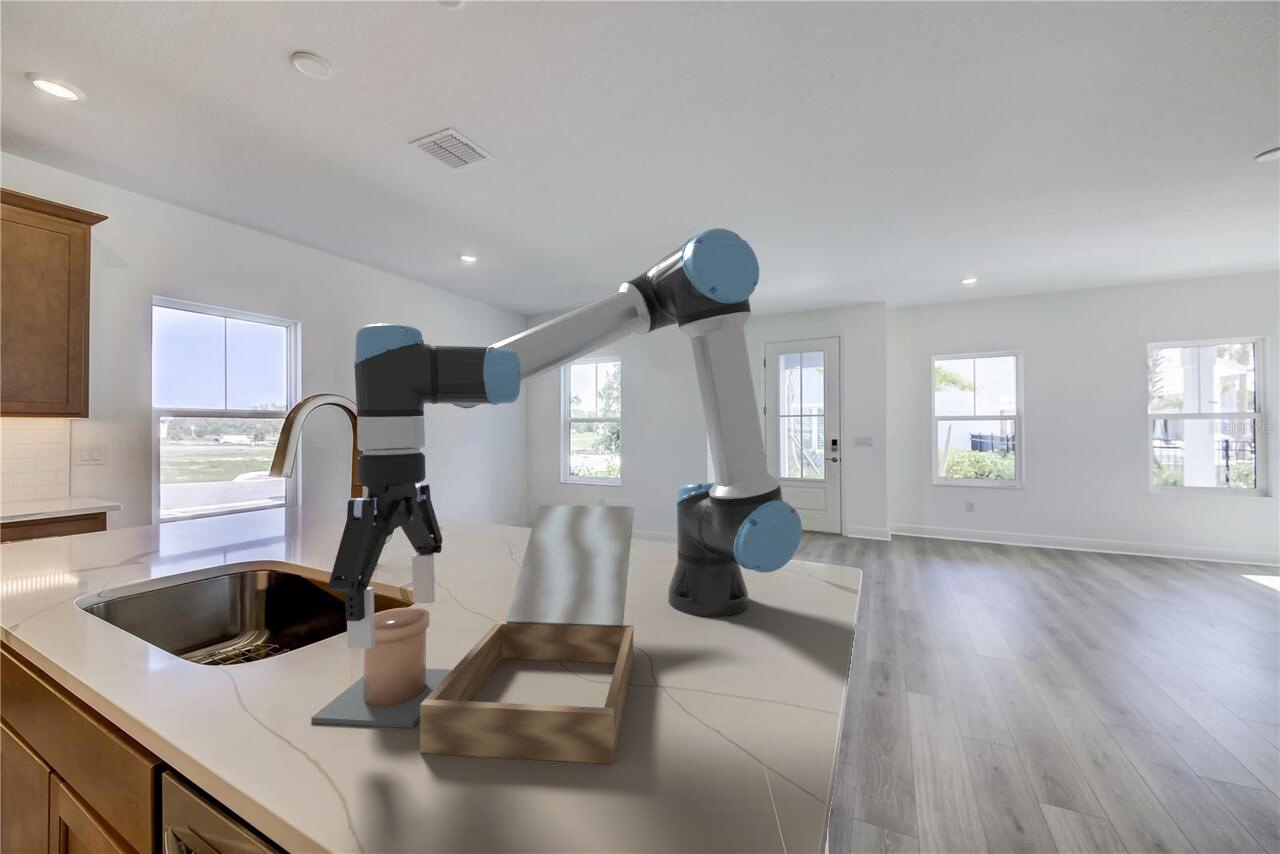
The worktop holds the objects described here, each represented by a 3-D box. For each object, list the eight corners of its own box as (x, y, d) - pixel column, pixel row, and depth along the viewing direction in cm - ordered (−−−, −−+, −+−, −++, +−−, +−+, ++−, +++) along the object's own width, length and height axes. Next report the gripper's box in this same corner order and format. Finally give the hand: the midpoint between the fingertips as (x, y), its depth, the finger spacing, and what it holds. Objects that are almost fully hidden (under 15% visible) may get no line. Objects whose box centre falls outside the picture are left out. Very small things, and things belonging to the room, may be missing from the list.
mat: (460, 674, 68) (460, 670, 68) (412, 728, 56) (412, 722, 56) (375, 670, 69) (375, 666, 69) (311, 722, 57) (311, 717, 57)
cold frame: (642, 616, 88) (642, 506, 88) (612, 763, 50) (612, 569, 50) (531, 612, 90) (531, 504, 90) (420, 753, 51) (419, 564, 51)
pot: (440, 676, 66) (440, 608, 66) (408, 710, 58) (408, 633, 58) (384, 674, 66) (384, 606, 66) (344, 707, 59) (344, 630, 59)
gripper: (416, 446, 75) (419, 587, 75) (284, 460, 50) (289, 671, 50) (464, 446, 74) (467, 588, 74) (355, 459, 49) (361, 673, 50)
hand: (396, 622), depth 62 cm, fingers open, 13 cm apart
